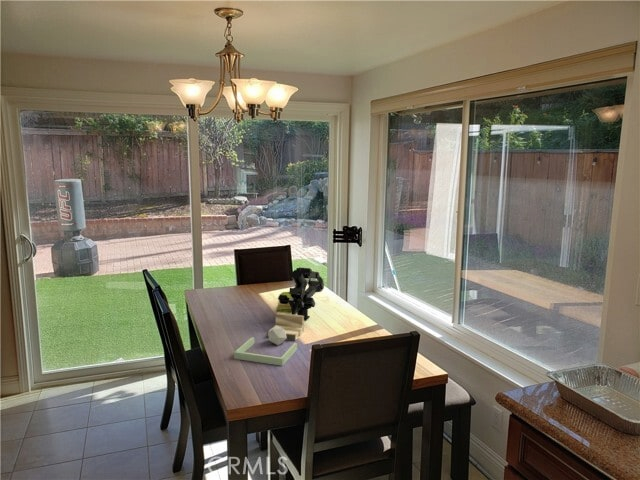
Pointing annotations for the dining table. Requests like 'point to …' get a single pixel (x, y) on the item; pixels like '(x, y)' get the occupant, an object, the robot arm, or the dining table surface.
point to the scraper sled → (290, 325)
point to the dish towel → (284, 306)
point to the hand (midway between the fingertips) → (292, 315)
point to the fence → (243, 355)
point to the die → (277, 335)
